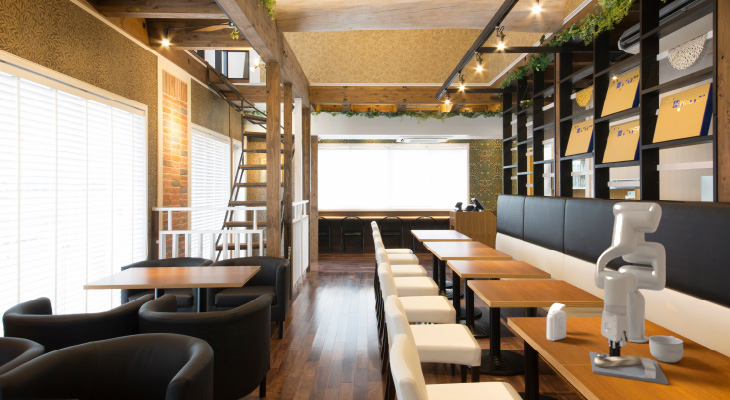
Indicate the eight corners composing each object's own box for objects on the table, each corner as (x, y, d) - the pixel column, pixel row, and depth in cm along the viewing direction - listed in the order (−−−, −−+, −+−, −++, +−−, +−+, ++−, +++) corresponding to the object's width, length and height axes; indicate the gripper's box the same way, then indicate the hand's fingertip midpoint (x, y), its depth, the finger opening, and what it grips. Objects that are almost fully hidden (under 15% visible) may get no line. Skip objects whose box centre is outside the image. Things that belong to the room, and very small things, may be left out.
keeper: (639, 369, 156) (640, 356, 156) (649, 371, 155) (649, 358, 155) (644, 380, 147) (645, 367, 147) (655, 382, 146) (655, 368, 146)
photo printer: (558, 335, 195) (559, 307, 194) (567, 337, 191) (568, 309, 191) (544, 339, 189) (545, 310, 189) (553, 342, 185) (554, 313, 185)
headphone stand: (565, 330, 200) (565, 304, 200) (556, 332, 197) (556, 306, 197) (556, 328, 204) (556, 302, 204) (547, 330, 201) (548, 304, 201)
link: (600, 367, 155) (600, 357, 155) (591, 363, 159) (591, 352, 159) (644, 364, 158) (644, 353, 158) (634, 359, 163) (635, 349, 162)
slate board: (589, 354, 171) (589, 351, 171) (655, 363, 162) (655, 360, 162) (593, 373, 153) (593, 370, 153) (668, 384, 144) (668, 381, 144)
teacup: (672, 367, 159) (673, 345, 159) (642, 357, 168) (642, 336, 168) (693, 360, 165) (693, 339, 165) (663, 351, 175) (663, 331, 175)
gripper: (593, 303, 169) (593, 350, 169) (618, 314, 154) (618, 366, 154) (612, 303, 169) (611, 350, 170) (639, 314, 154) (638, 365, 155)
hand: (614, 357), depth 162 cm, fingers closed
